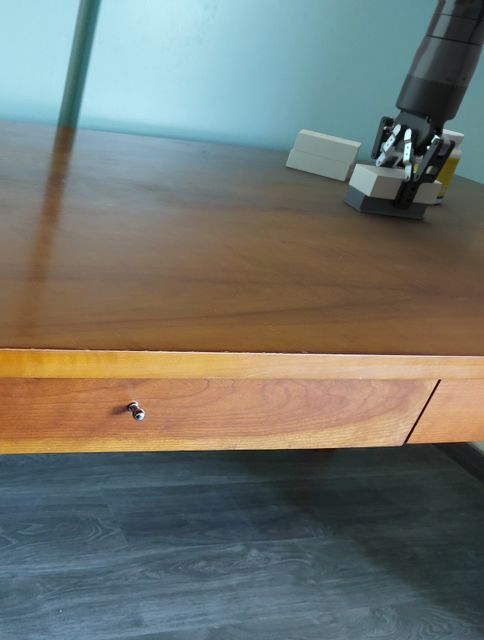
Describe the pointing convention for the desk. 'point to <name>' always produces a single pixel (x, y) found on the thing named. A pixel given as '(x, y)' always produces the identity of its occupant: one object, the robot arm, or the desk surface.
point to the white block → (389, 183)
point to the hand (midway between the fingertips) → (387, 200)
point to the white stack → (323, 154)
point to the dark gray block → (382, 205)
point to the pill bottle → (447, 163)
